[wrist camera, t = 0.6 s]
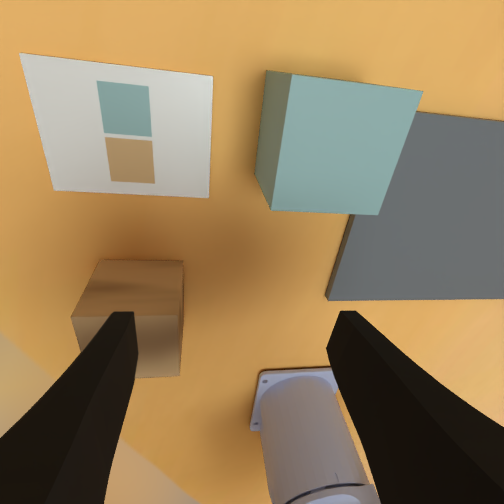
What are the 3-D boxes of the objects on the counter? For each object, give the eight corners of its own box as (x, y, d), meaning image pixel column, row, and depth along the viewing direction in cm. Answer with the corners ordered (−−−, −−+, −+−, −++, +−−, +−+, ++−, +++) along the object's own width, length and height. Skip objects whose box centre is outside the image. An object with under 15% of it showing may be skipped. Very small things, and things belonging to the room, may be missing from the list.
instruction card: (208, 196, 17) (208, 198, 17) (55, 189, 16) (53, 190, 15) (212, 76, 14) (213, 76, 14) (21, 53, 13) (18, 53, 12)
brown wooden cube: (183, 316, 22) (179, 376, 18) (111, 317, 21) (89, 380, 17) (183, 260, 19) (177, 315, 15) (100, 258, 18) (70, 316, 14)
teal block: (336, 178, 18) (378, 215, 14) (254, 173, 17) (271, 210, 13) (362, 82, 15) (423, 91, 11) (266, 70, 14) (292, 74, 10)
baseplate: (521, 294, 26) (527, 298, 25) (325, 295, 23) (327, 300, 22) (641, 136, 19) (653, 138, 18) (383, 107, 16) (389, 109, 15)
